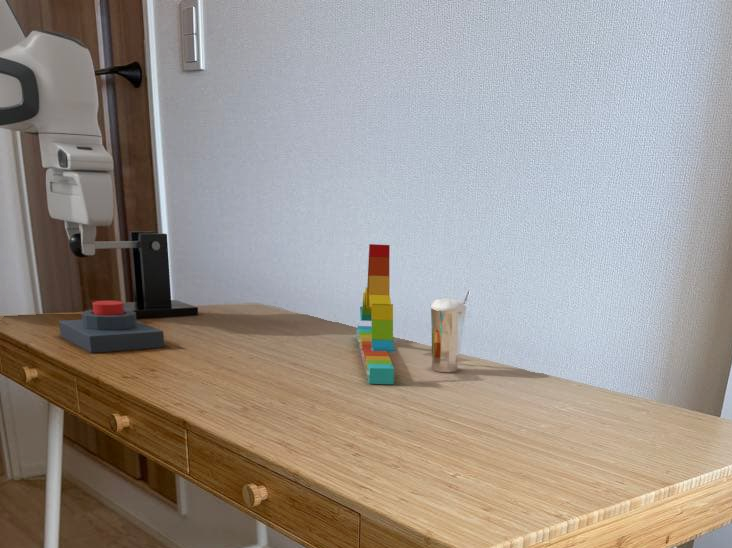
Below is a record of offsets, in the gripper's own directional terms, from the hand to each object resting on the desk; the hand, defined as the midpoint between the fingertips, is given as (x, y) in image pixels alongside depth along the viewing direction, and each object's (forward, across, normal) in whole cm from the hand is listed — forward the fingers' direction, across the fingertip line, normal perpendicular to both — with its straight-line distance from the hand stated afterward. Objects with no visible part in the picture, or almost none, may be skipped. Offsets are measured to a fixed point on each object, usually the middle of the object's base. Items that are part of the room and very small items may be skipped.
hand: (83, 253), depth 130 cm
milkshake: (+10, +57, +28) cm, 64 cm away
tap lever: (+1, 0, +5) cm, 5 cm away
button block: (+10, +22, -4) cm, 24 cm away
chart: (+10, +47, +23) cm, 53 cm away
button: (+6, +22, -4) cm, 23 cm away
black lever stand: (+10, 0, +11) cm, 15 cm away
